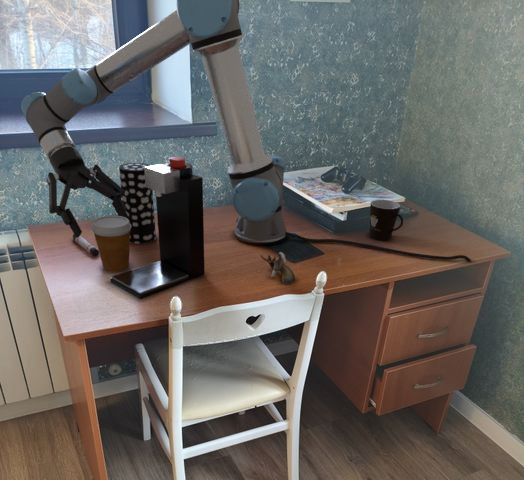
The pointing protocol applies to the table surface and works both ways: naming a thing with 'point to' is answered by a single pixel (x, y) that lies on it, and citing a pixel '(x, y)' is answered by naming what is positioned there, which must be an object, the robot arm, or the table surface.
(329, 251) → the table surface
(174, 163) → the button
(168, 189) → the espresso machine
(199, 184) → the tower
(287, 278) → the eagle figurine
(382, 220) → the coffee mug
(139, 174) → the spotted tube
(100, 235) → the disposable coffee cup
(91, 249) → the marker
